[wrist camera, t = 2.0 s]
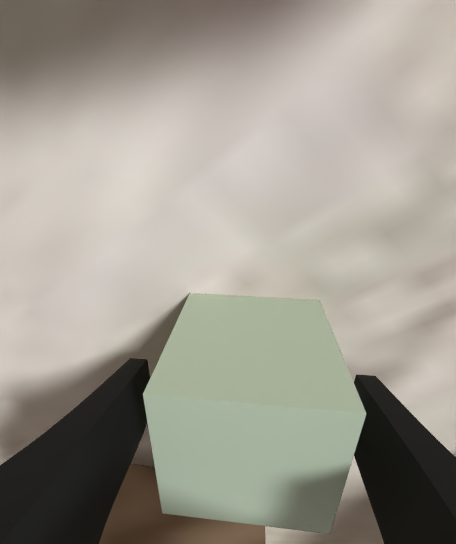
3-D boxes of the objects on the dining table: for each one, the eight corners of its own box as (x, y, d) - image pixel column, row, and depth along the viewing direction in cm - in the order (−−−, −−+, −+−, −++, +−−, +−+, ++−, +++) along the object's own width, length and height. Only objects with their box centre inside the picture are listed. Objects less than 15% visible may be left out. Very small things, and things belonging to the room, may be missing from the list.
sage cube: (319, 299, 11) (366, 414, 6) (303, 394, 13) (330, 534, 8) (190, 292, 11) (142, 394, 6) (195, 385, 13) (162, 513, 8)
